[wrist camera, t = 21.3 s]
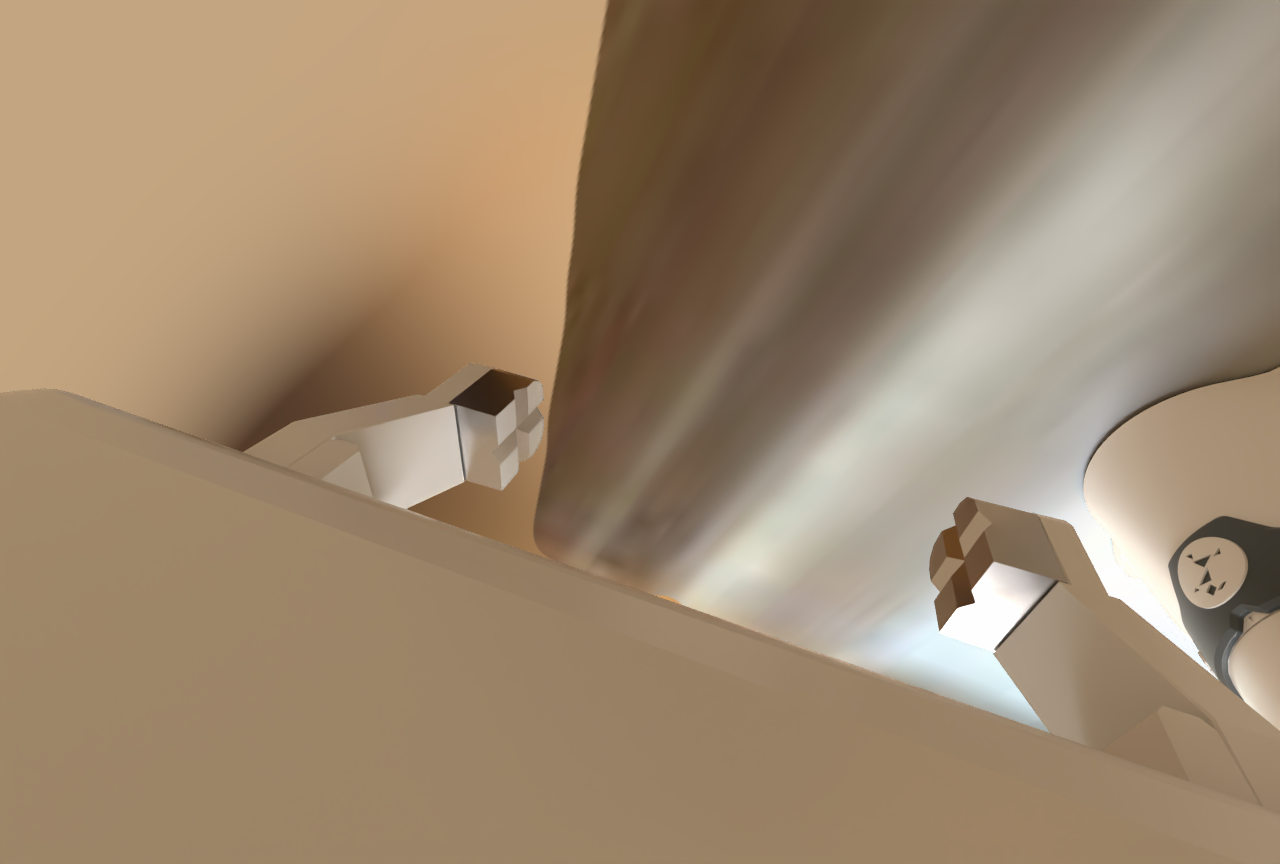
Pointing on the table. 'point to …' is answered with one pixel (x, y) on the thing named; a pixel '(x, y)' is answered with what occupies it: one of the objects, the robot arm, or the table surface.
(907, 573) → the table surface
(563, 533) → the table surface
